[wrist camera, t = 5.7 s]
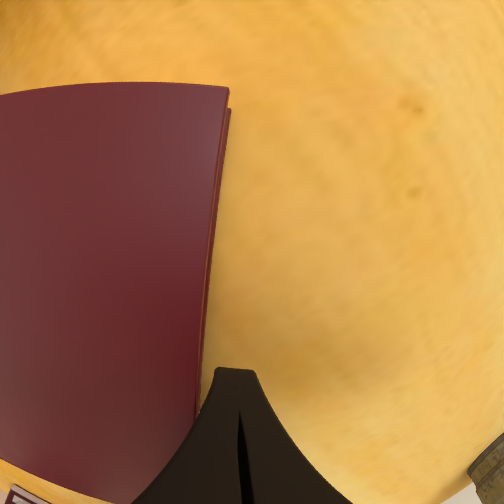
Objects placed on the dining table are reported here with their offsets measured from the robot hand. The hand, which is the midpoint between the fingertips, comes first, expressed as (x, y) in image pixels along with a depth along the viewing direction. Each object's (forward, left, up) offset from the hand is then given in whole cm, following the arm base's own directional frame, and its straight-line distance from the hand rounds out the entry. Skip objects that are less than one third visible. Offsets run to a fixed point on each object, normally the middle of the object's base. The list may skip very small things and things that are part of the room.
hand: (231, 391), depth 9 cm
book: (0, +7, -2) cm, 7 cm away
